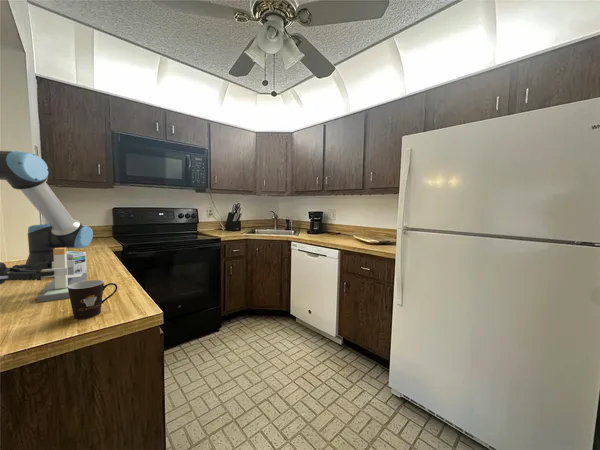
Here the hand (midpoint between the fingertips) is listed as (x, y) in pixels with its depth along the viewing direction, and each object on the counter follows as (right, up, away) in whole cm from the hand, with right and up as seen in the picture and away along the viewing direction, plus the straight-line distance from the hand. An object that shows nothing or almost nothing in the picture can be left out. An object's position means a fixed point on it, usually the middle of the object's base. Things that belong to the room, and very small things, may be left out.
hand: (71, 267), depth 94 cm
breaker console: (-7, -9, +5) cm, 12 cm away
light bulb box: (-23, -8, +24) cm, 34 cm away
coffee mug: (+23, -12, -17) cm, 31 cm away
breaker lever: (-3, -8, -1) cm, 8 cm away
